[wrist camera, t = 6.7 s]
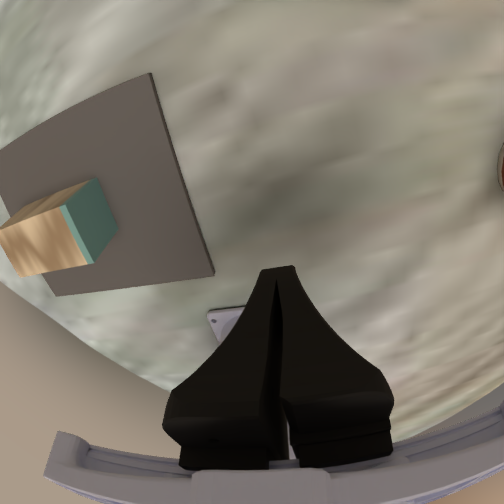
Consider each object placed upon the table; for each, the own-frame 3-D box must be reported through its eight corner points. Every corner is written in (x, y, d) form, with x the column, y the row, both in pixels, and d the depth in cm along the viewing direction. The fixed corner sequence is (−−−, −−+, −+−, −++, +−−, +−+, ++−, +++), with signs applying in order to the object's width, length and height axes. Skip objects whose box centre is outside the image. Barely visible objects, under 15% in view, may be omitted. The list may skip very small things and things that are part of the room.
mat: (214, 272, 25) (214, 276, 25) (58, 293, 28) (56, 296, 27) (151, 72, 16) (148, 73, 16) (-10, 158, 19) (-14, 160, 19)
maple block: (94, 263, 19) (20, 277, 20) (118, 228, 22) (45, 247, 24) (65, 204, 16) (-6, 232, 18) (96, 177, 20) (24, 206, 21)
